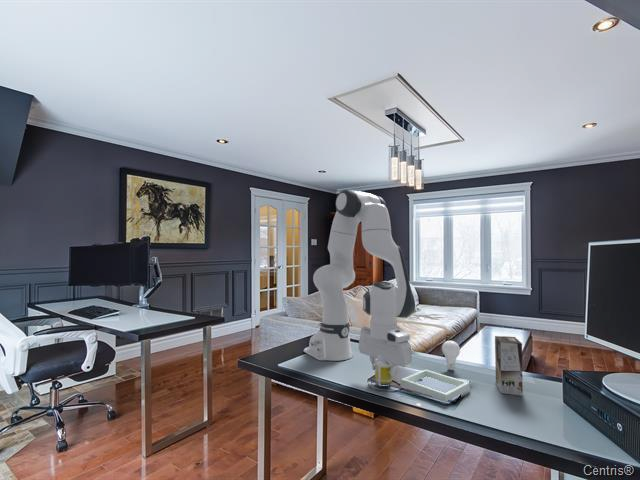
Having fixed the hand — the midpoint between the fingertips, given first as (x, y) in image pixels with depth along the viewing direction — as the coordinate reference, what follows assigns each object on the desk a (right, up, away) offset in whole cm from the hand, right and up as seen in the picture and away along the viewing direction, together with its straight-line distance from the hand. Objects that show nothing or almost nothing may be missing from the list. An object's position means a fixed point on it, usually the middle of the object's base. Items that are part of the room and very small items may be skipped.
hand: (383, 372), depth 114 cm
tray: (+16, -4, -4) cm, 17 cm away
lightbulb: (+28, -5, +14) cm, 31 cm away
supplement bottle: (0, -4, 0) cm, 4 cm away
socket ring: (+1, -4, 0) cm, 4 cm away
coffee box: (+40, -4, -3) cm, 40 cm away
